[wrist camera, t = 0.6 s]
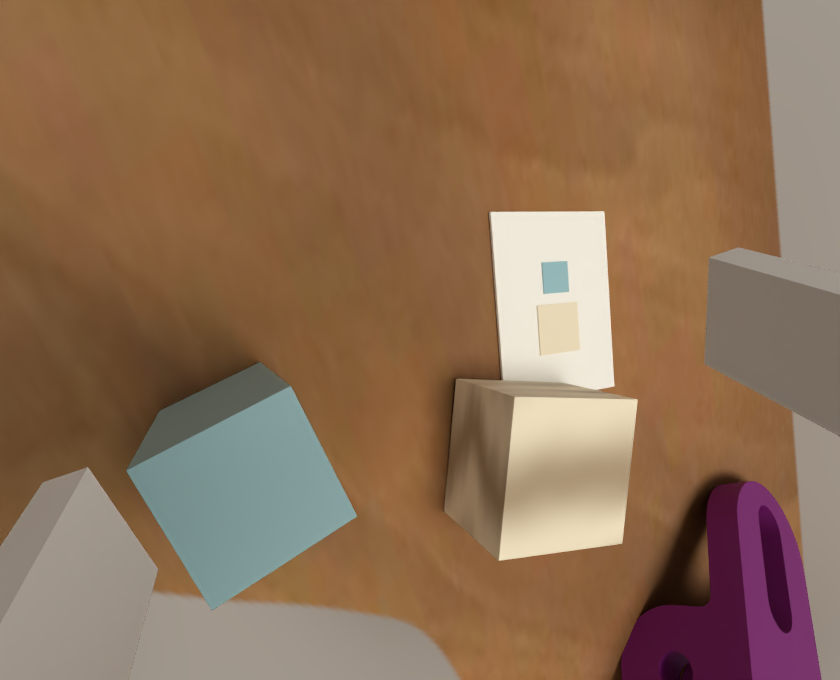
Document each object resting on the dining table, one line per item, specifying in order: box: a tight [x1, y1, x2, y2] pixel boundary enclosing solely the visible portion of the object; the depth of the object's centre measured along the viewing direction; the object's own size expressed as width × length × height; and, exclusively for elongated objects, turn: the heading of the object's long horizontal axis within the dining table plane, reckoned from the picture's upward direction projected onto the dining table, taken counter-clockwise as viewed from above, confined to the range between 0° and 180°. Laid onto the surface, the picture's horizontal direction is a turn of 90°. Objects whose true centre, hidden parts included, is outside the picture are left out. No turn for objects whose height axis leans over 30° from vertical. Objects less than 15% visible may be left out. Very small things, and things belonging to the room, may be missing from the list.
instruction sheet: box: [489, 211, 614, 390], centre depth 31 cm, size 12×9×1 cm
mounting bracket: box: [621, 481, 821, 680], centre depth 36 cm, size 10×9×19 cm
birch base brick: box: [444, 379, 638, 561], centre depth 28 cm, size 8×8×6 cm
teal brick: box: [126, 362, 357, 610], centre depth 19 cm, size 5×5×10 cm
